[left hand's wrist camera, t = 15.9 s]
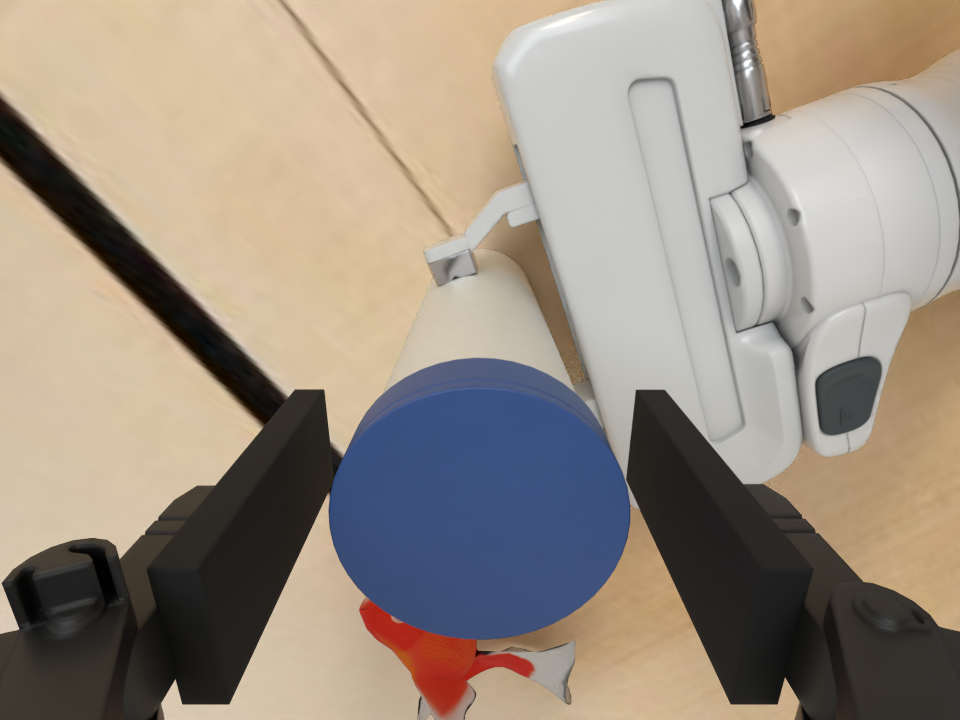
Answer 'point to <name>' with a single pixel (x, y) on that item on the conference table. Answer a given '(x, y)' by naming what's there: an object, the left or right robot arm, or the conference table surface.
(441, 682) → the fish
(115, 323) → the conference table surface
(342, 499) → the lid
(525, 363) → the jar
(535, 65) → the right robot arm
